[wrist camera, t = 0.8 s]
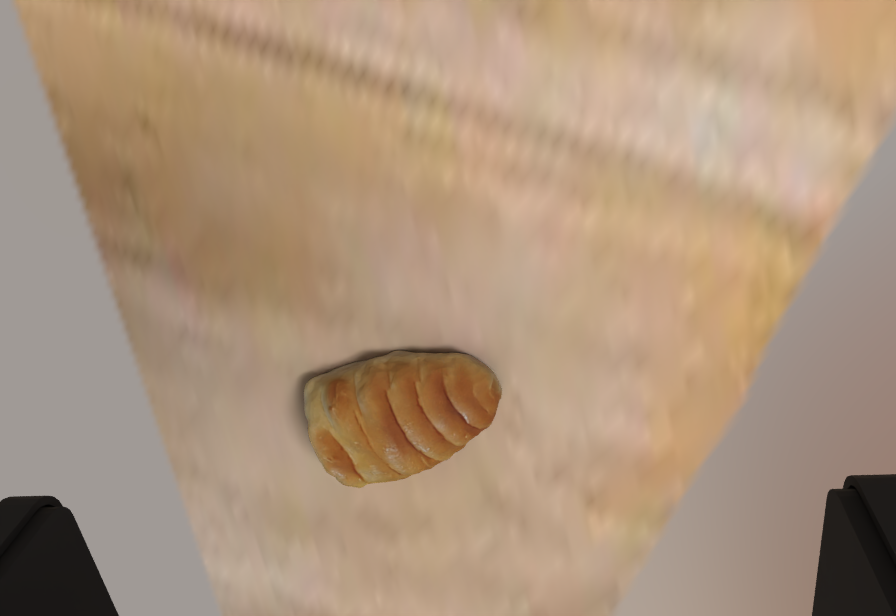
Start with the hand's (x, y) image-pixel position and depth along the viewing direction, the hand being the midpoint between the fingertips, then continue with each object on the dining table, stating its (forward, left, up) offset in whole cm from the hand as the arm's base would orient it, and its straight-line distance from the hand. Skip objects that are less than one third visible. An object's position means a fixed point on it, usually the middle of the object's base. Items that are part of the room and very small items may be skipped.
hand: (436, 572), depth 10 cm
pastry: (+15, -8, -26) cm, 31 cm away
